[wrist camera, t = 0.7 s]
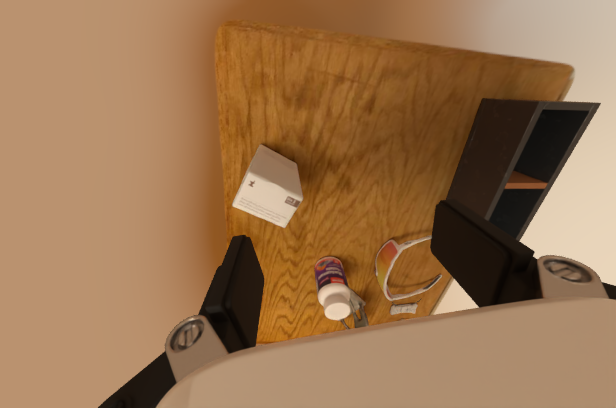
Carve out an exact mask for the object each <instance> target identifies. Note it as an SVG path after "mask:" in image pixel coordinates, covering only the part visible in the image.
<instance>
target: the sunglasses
mask: <svg viewBox="0 0 616 408" xmlns="http://www.w3.org/2000/svg"><path fill="white" fill-rule="evenodd" d="M431 238H432V236H427V237H424V238H420V239H416V240H411V241H407V242H405V243H403V244H401V245H398V244H397V243H396V242H395V241H394V240H389V241H388V242H386V243H385V244H384V245H383V246H382V248H381V249H380V250H379V252H378V254H377V256H376V261H375V265H376V270H374V271H375V275H376V277H377V281H378V283H379V286H380V288H381V289H382V291H383V293H384V294H385V297H386V298H387V299H388V300H390V301H393V300H398V299H403V298H406V297H410V296H413V295H416V294H418V293H421V292H424V291H426V290H428V289H429V288H431V287H432V286H433V285H434V284H435V283H436V282H437V281H438V280H439V279H440V278H441V277H442V275H438V276H437V277H436V278H435V279H434V280H433V281H432V282H431V283H430V284H428V285H427V286H425V287H424V288H422V289H418V290H416V291H414V292H412V293H409V294H396V295H391V293H390V291H389V288H388V286H387V280H388V276H389V273H390V271H391V269H392V267H393V265H394V262H395V260H396V259H397V257H398V256H399V255H400V254H401V251H402V250H404V249H405V248H408V247H410V246H412V245H414V244H416V243H419V242H421V241H424V240H428V239H431Z"/></svg>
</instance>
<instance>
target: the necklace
mask: <svg viewBox="0 0 616 408" xmlns="http://www.w3.org/2000/svg"><path fill="white" fill-rule="evenodd" d="M421 299H422V298H421ZM421 299H420V300H421ZM417 302H419V301H417ZM417 302H416V303H417ZM392 303H393V302H392ZM393 304H394V303H393ZM416 307H417V304H415V303H414V304H407V305H406V304H405V305H396V306H395V304H394V305H393V306H392V307H391V310H390V313H391V315H394V314H398V313H400V312H401V313H402V312H403V313H404V312H408V313H411V312H412V313H415V310H416ZM396 309H397V310H396ZM399 309H400V310H399Z"/></svg>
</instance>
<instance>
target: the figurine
mask: <svg viewBox="0 0 616 408" xmlns="http://www.w3.org/2000/svg"><path fill="white" fill-rule="evenodd" d="M349 290H350V299H349V301H348V302H349V306H350V313H349V315H350V314H351V313H353V317H354V322H355V328H360V327H365V326H369V325H368V319H367V316H366V314H365V311H364V305H366V303H365V302H364V301H363V300H362V299H361V298H360V297H359V296H358V295H357V294H356V293H355V292H354V291H353V290H351V289H350V288H349ZM358 309H359V310H360V315H361V319H359V318H358V317H357V315H356V312H355V311H356V310H358ZM349 315H348V316H349ZM345 318H346V317H345ZM345 318H343V319H340V320H338V321H341V322H342V323H343V324H344V326H345V327H346V329H347V330H348V329H350V328H349V327H348V326H347V325H346V324H345V322H344V319H345Z"/></svg>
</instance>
